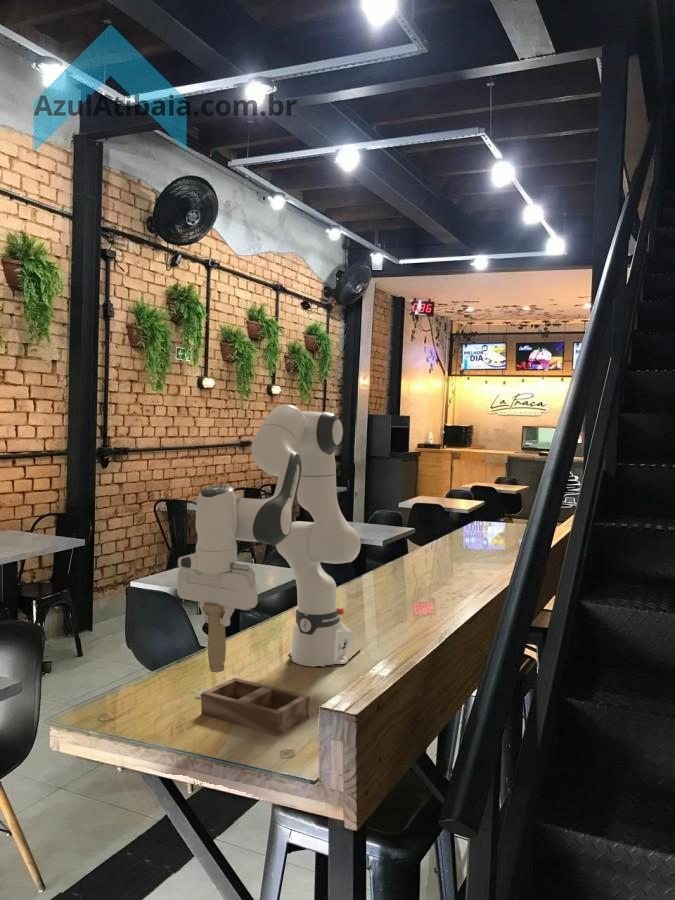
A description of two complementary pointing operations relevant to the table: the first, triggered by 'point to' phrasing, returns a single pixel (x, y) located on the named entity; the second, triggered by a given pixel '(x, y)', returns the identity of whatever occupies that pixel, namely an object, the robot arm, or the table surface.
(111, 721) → the table surface
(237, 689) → the divided box
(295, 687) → the table surface
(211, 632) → the handle
